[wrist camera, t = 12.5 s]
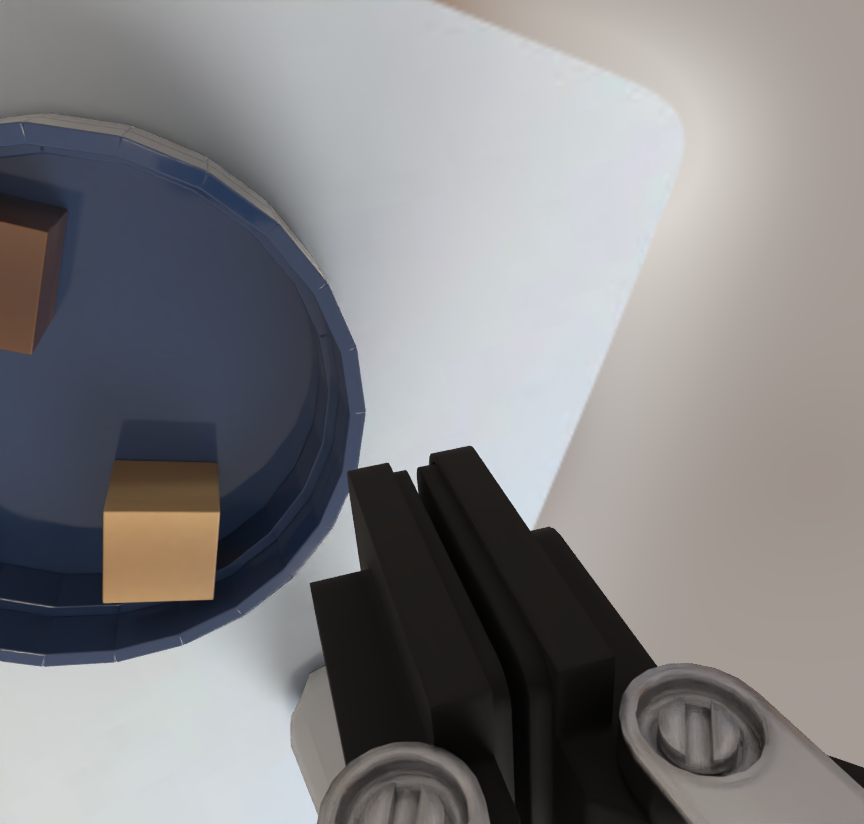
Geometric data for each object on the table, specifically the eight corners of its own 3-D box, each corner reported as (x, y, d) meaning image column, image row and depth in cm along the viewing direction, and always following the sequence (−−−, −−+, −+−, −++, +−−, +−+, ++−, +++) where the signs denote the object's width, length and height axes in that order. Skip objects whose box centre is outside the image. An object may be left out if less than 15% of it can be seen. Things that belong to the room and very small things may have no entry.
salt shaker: (274, 730, 39) (306, 1005, 27) (296, 642, 37) (339, 899, 25) (381, 728, 41) (452, 983, 29) (407, 644, 39) (493, 883, 27)
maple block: (114, 459, 30) (102, 511, 26) (217, 461, 31) (220, 511, 27) (112, 543, 31) (102, 604, 28) (211, 543, 32) (213, 600, 29)
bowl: (-329, 151, 23) (-454, 171, 18) (300, 86, 27) (320, 89, 22) (-82, 632, 31) (-127, 725, 27) (367, 527, 35) (391, 592, 31)
